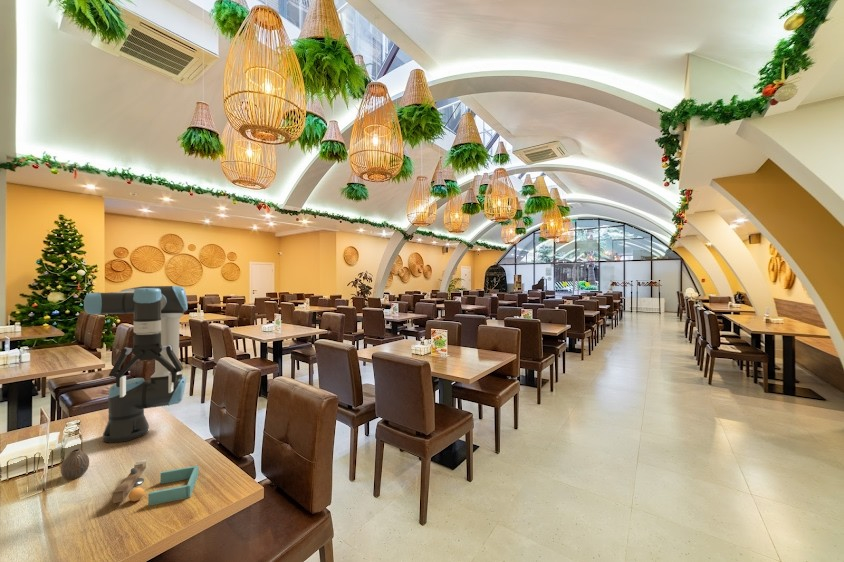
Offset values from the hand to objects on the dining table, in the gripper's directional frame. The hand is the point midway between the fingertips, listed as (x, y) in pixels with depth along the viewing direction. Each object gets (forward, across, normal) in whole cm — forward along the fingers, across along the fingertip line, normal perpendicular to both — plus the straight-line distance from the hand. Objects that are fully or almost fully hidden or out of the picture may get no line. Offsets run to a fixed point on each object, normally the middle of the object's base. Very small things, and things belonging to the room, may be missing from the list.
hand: (147, 393), depth 120 cm
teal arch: (+27, +12, -15) cm, 33 cm away
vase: (+28, -22, +6) cm, 36 cm away
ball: (+26, +2, -17) cm, 31 cm away
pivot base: (+28, -2, -6) cm, 28 cm away
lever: (+27, -2, -9) cm, 28 cm away
